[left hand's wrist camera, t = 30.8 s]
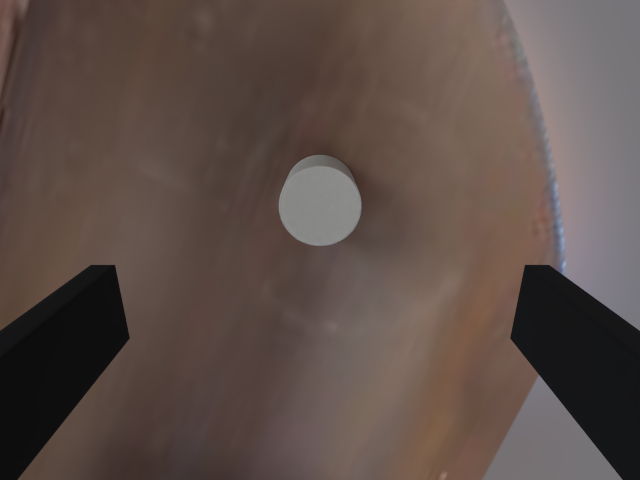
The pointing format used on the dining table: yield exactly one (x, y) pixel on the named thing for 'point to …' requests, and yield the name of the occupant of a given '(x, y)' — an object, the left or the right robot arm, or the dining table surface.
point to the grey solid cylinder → (320, 201)
